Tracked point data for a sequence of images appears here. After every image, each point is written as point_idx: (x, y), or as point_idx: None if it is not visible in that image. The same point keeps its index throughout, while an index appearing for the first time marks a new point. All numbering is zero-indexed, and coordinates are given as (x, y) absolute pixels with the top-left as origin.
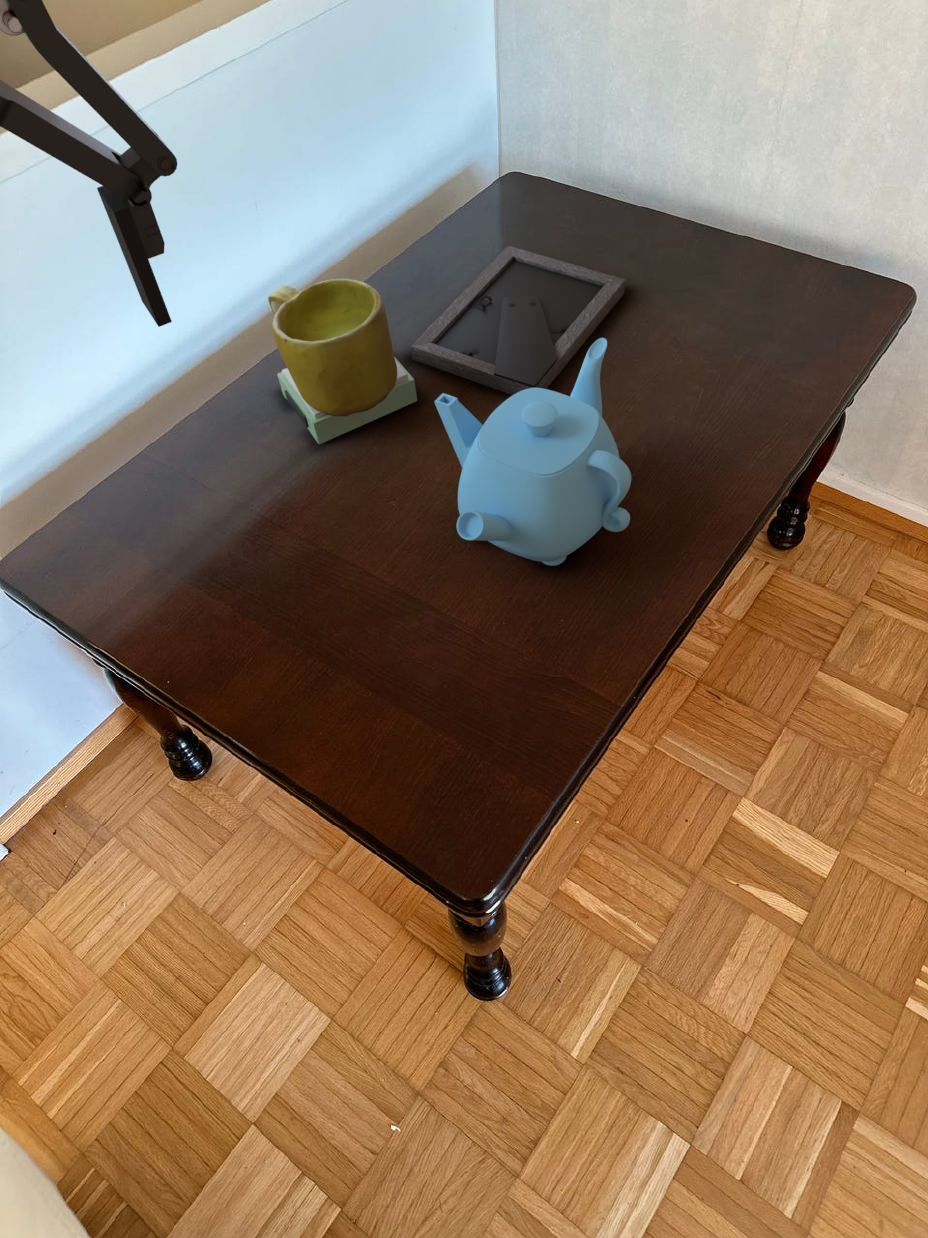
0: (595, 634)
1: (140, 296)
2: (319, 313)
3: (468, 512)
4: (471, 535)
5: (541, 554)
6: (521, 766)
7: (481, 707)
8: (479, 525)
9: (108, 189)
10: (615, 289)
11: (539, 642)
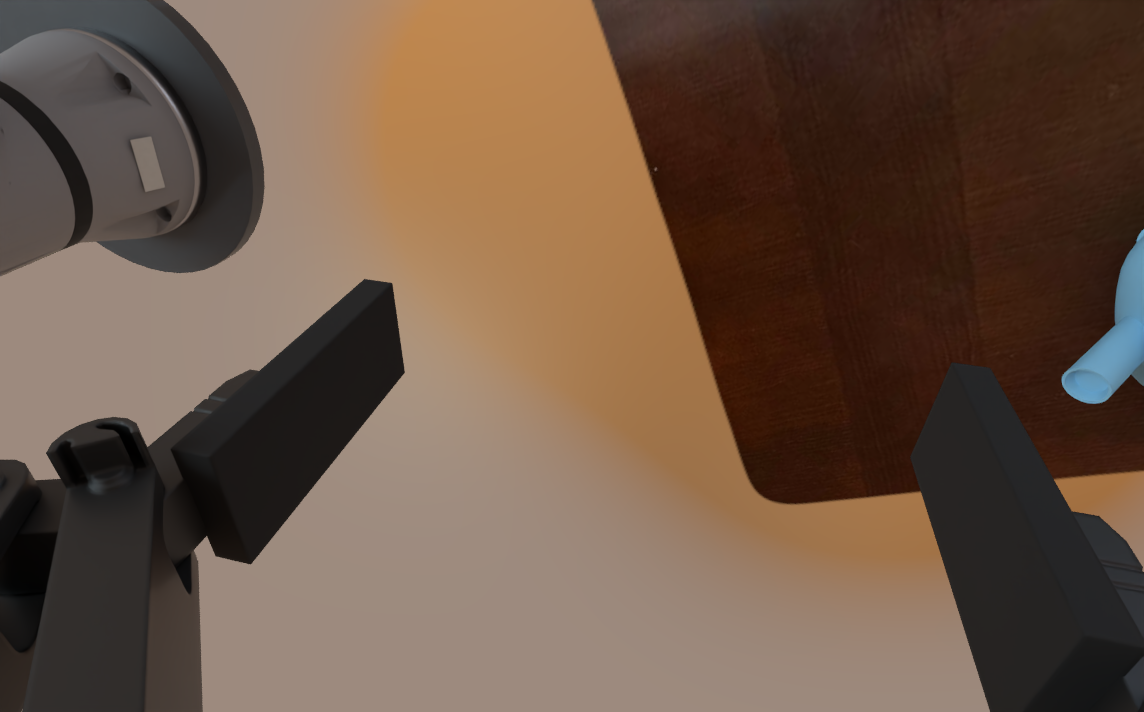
0: (1068, 427)
1: (954, 377)
2: None
3: (1105, 380)
4: (1075, 379)
5: (1132, 375)
6: (873, 466)
7: (897, 408)
8: (1096, 387)
9: (1102, 666)
10: None
11: (1014, 396)
